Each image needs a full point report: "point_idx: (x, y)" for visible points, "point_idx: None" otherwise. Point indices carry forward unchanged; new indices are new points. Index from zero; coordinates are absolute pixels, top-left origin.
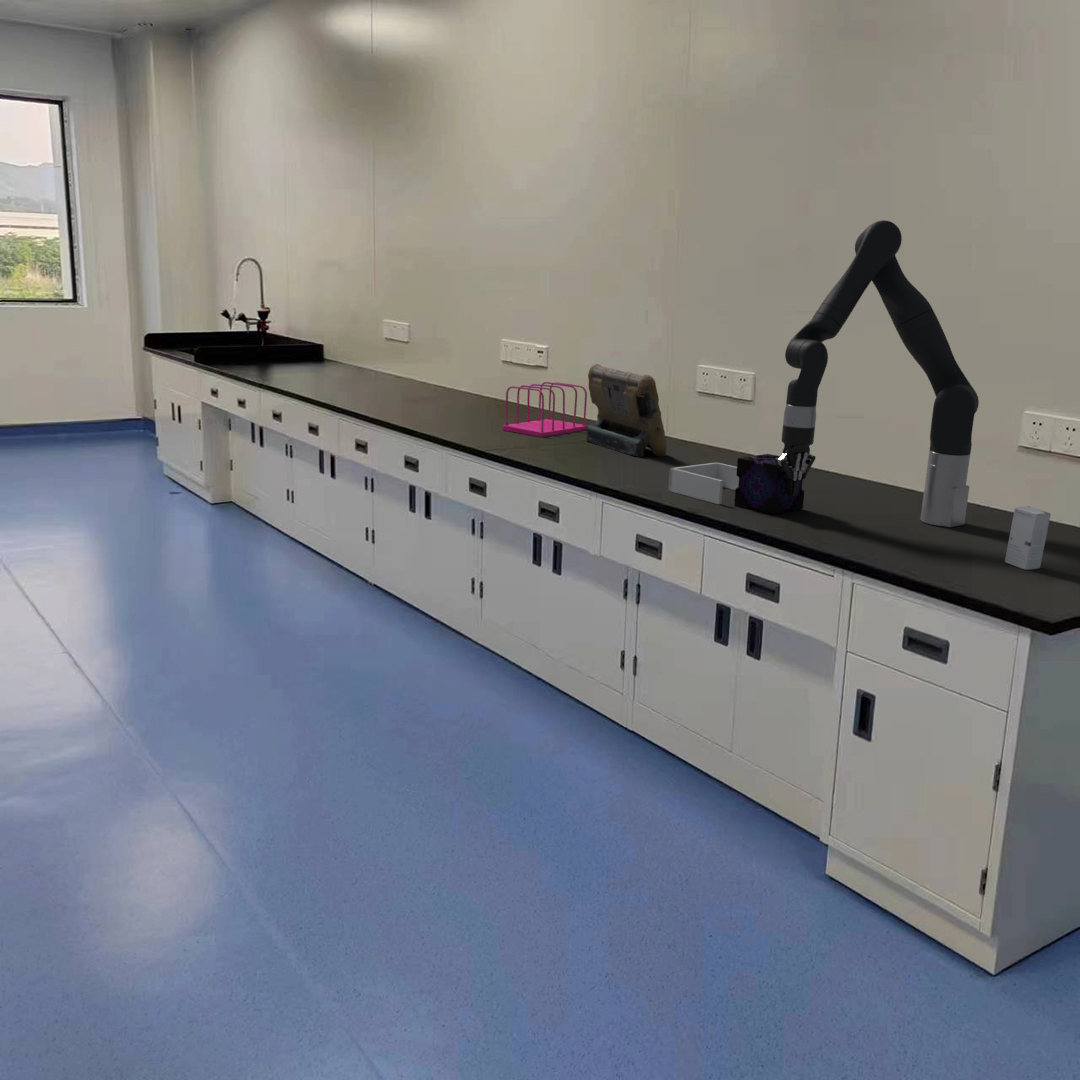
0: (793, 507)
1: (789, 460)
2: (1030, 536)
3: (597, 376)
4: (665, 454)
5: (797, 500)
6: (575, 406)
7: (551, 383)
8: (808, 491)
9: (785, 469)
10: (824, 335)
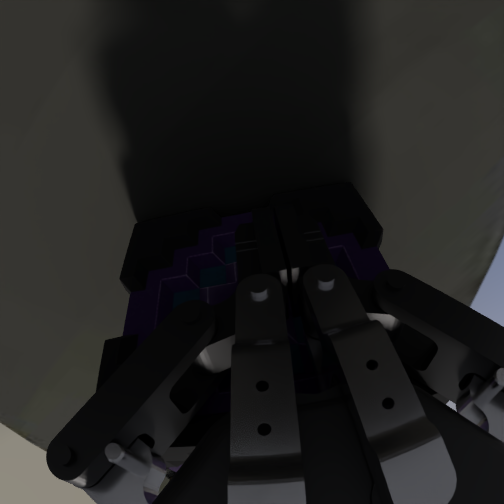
0: (204, 215)
1: (460, 415)
2: None
3: None
4: (171, 478)
5: (168, 245)
6: None
7: None
8: (22, 359)
9: (487, 321)
10: None
